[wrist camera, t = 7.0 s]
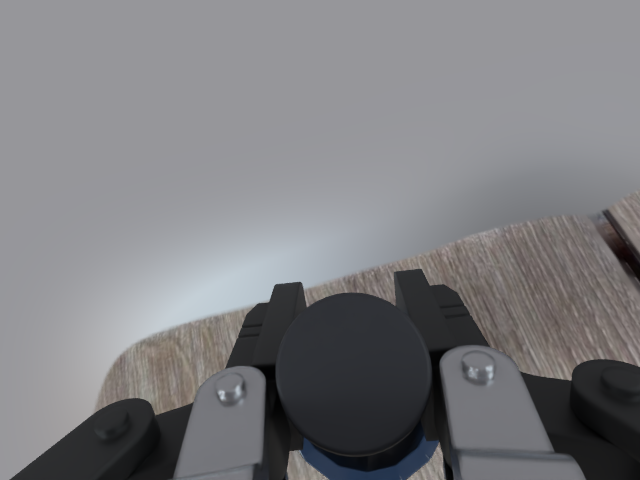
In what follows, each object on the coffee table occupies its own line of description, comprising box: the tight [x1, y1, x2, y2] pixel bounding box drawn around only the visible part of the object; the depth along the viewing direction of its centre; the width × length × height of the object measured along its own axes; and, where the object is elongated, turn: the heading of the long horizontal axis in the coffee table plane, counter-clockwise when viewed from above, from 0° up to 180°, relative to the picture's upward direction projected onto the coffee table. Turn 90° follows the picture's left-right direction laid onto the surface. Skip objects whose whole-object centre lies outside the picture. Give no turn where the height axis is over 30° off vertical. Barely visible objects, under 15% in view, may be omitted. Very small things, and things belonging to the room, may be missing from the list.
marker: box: [275, 293, 432, 457], centre depth 13 cm, size 3×3×14 cm
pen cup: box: [299, 419, 439, 480], centre depth 17 cm, size 6×6×7 cm
